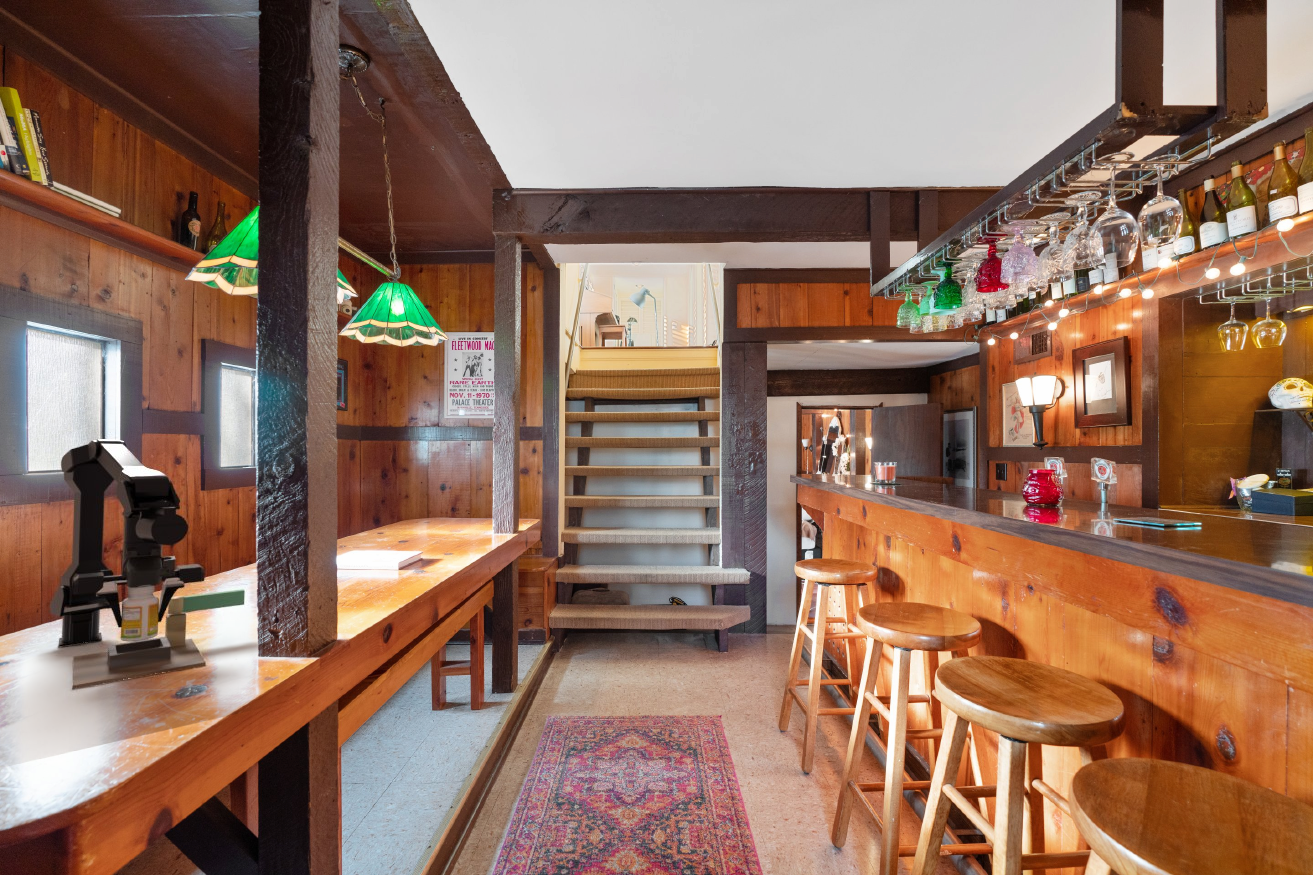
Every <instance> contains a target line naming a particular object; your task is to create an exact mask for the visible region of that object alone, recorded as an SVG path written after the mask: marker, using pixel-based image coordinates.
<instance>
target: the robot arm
mask: <svg viewBox="0 0 1313 875" xmlns="http://www.w3.org/2000/svg"><path fill="white" fill-rule="evenodd" d="M126 444H127V443H126V442H125V441H123V440H120V439H95V440H91V441H90V442H89V443H88V444H84V445H81V446H77V447H74V448H71V449H70V450H68V451H67V452H66V453H65V454H64V455H63V456H62V457H61V461H60V469H61V471H62V472H63V480H64V482H65V483H66V485H68V487H69V488H70V489H71V491H73V493H74V495H73V496H74V498H73V500H74V501H73V527H72V528H73V529H72V555H71V556H72V561H71V564H70V565H69V567H68V568H67V569H66V570H65V571H64V573H62V575H61V576H60V584H59V586H58V587H57V589H56V590H55V593H54V595H53V597H52V599H51V600H50V604H49V609H50V610H49V611H50V615H51V616H52V615H53V616H56V617H59V618H61V617H62V619H61V620H62V621H61V623H62V624H61V637H59V638H58V646H57V647H59V648H61V647H66V646H67V647H68V646H74V645H75V646H77V645H81V644H88V643H96V642H101V641H102V638H103V637H102V635H103V634H102V632H100V619H101V616H100V614H101V610H106V609H111V611H112V614H113V616H114V619H115V622H116V625H117V628H120V629H121V623H122V618H121V616H122V610H121V604H120V596H119V591H118V586H124V585H125V586H127V588H128V587H131V588H134V587H138V586H144V585H151V586H154V585H155V586H158V585H160V584H162V586H161V591H160V598H159V614H158V623H161V622H162V620H163V618H164V615H166V614H165V613H166V611H167V610H168V604H169V602H170V600H171V598H172V597H174V595H175V593H177V591H178V590H179V589H184V588H185V586H186V585H185V584H191V583H200V582H201V583H202V582H205V576H206V574H205V572H206V571H205V569H204V567H202V566H201V565H200V564H199V563H192V564H182V565H176V556H175V555H172V556H171V555H170V556H163V546H173V545H176V544H178V543H180V542H181V541H182V540H184V539H185V537H186V536H187V534H188V530H189V525H188V522H187V520H186V519H185V518H184V517H183V516H182V515H180V514H177V510H180V509H181V507H180V504H181V503H180V502H181V500H180V497H179V495H178V493H177V492H176V489H175V487H174V484H173V482H172V481H171V480H170V477H169V476H168V475H166V474H165V473H163V472H161V471H159V470H157V469H151V468H147V467H146V466H144V465H143V463H141V461H139V459H137V457H136V456H135V455H134V454H133V453H132V452H131V451H130V450H129V449H128V448H127V445H126ZM115 481H116V483H117V484H116V489H115V490H116V491H115V494H116V498H117V499H118V501H119V503H120V505H121V506H122V508H123V509H124V510H123V512H121V515H122V516H123V517H124V519H123V538H122V539H123V543H122V545H123V546H122V564H121V566H122V568H121V574H117V575H116V574H115V575H114V571H113V569H110V568H109V567H108V566H107V565H106V564H105V563H104V561H103V559H104V558H103V557H104V526H105V525H104V524H105V523H104V522H105V496H106V494H105V493H106V491H108V489H109V487H110V486H111V485H112V484H113V483H114V482H115Z"/></svg>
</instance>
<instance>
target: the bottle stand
mask: <svg viewBox="0 0 1313 875" xmlns="http://www.w3.org/2000/svg"><path fill="white" fill-rule="evenodd" d="M186 630H187V614H186V612H184V613H180V614H168V613H167V614H165V630H164V634H165V635H164V636H162V637H153V638H150V639H146V640H141V641H132V642H127V641H126V642H122V643H113V644H108V645H107V650H106V651H101V652H96V653H89V654H84V655H76V656H73V658H72V661H73V663H72V690H76V689H81V688H87V687H91V686H98V685H102V684H103V683H105V684H109V682H110V683H114V682H113V681H116V682H120V681H119V680H121V681H124V680H123V679H127V680H129V679H128V678H132V679H136V678H135V677H138V678H141V677H140V676H144V677H147V676H146V675H149V676H151V675H150V674H155V673H160V674H163V673H162V672H166V673H169V672H168V671H171V672H175V671H174V670H177V671H182V670H186V669H187V670H188V669H193V668H199V667H204V666H206V660H205V658H204V657H203V655H202V653H201V652H200V650H199V649H198V646H197V645H196V643H195V642H194V640H193V638H186V632H187V631H186ZM181 669H182V670H181ZM155 675H156V674H155ZM103 685H104V684H103Z"/></svg>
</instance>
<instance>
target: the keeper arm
mask: <svg viewBox="0 0 1313 875" xmlns="http://www.w3.org/2000/svg"><path fill="white" fill-rule="evenodd" d="M245 594H246V593H245V589H244V588H243V589H235V590H228V591H227V590H226V591H217V592H216V591H215V592H210V593H200V594H192V595H183V596H182V595H181V596H173V597H172V598H171V600H170V602H169V604H168V607H167V614H180V613H184V612H185V613H191V612H198V611H206V610H214V609H219V608H220V609H221V608H229V607H236V606H238V607H239V606H244V605H245Z"/></svg>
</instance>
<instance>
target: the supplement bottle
mask: <svg viewBox="0 0 1313 875" xmlns="http://www.w3.org/2000/svg"><path fill="white" fill-rule="evenodd" d="M126 589H127V590H126V593H127V596H128V597H126V598H125V599H123V601H122V603H121V618H122V623H121V627H120V640H121V641H122V642H126V643H127V642H133V641H141V640H147V639H153V638H156V637H157V636H158V633H159V622H158V614H159V604H160V598H159V596H157V595H154V593H155V591H156V585H154V586H151V585H144V586H138V587H134V588H131V587H128V586H127V588H126Z"/></svg>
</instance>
